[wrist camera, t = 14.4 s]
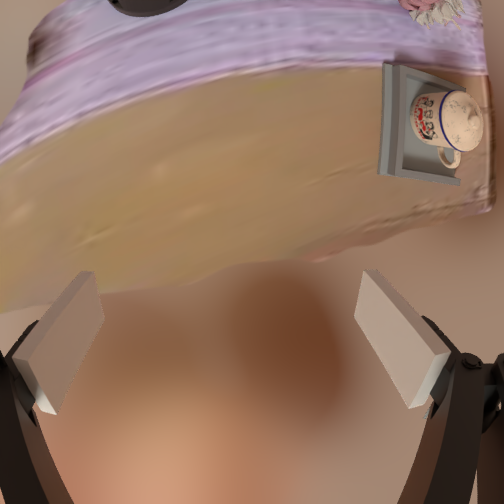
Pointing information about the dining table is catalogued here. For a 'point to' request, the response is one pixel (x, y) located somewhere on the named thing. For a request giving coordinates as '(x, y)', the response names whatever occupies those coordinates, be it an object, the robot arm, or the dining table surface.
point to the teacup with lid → (447, 122)
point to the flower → (433, 10)
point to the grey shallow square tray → (410, 127)
